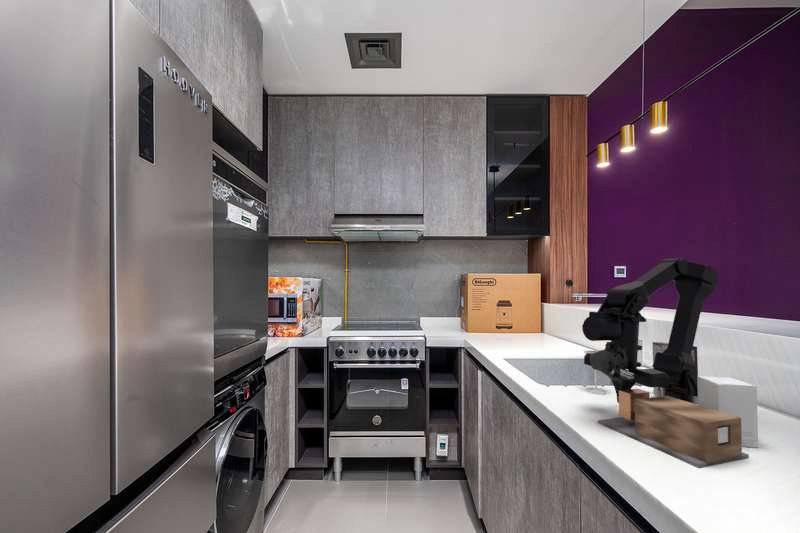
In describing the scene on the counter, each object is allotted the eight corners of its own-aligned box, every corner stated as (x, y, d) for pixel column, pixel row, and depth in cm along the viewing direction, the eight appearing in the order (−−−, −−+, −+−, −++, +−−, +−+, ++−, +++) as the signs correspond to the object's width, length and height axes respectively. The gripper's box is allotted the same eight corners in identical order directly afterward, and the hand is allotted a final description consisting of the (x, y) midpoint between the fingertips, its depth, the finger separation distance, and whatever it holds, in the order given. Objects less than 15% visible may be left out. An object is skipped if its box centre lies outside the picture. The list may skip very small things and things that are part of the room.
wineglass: (583, 392, 111) (583, 353, 111) (584, 387, 117) (584, 349, 117) (608, 396, 108) (608, 355, 108) (608, 390, 114) (608, 352, 114)
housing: (597, 422, 87) (597, 389, 87) (640, 417, 91) (640, 385, 91) (699, 468, 66) (698, 424, 66) (748, 457, 70) (747, 416, 71)
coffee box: (687, 397, 108) (686, 343, 109) (699, 404, 102) (698, 346, 103) (652, 394, 110) (652, 341, 111) (662, 401, 104) (661, 344, 105)
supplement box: (759, 448, 74) (758, 386, 75) (718, 444, 76) (717, 383, 76) (734, 434, 82) (733, 377, 82) (696, 430, 83) (696, 374, 84)
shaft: (618, 416, 86) (618, 390, 86) (637, 413, 88) (637, 388, 88) (712, 453, 67) (712, 420, 68) (733, 449, 69) (733, 417, 70)
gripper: (568, 332, 95) (565, 391, 95) (634, 350, 77) (630, 423, 77) (602, 331, 98) (598, 388, 99) (672, 348, 81) (668, 418, 81)
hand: (620, 403), depth 89 cm, fingers closed
